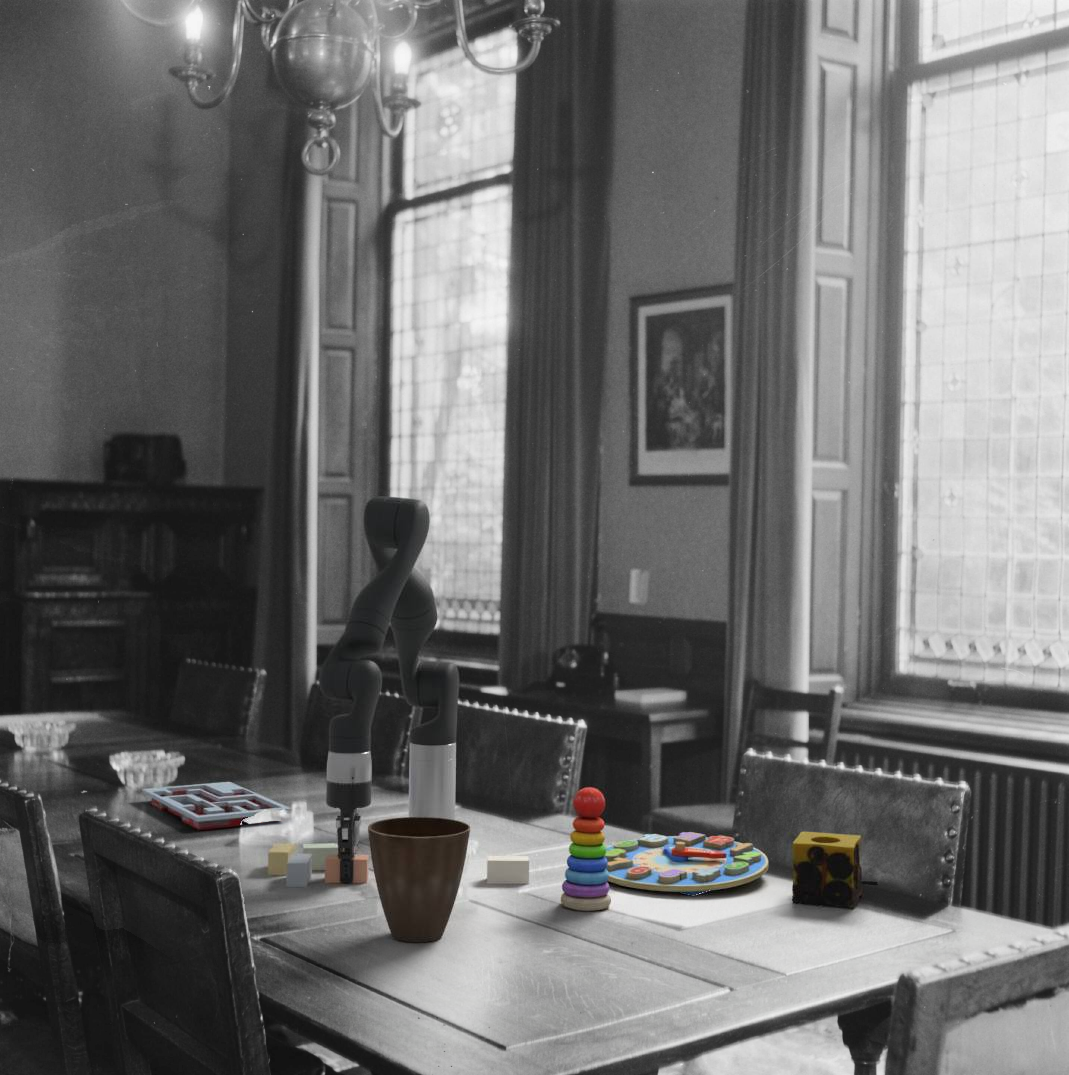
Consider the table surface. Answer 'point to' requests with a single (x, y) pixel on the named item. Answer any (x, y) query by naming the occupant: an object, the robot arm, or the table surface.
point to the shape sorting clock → (684, 863)
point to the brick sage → (320, 853)
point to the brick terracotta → (358, 869)
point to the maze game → (211, 803)
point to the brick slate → (299, 870)
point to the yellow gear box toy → (827, 869)
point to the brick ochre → (279, 858)
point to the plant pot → (418, 873)
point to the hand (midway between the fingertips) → (347, 879)
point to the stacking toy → (587, 856)
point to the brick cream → (507, 870)
